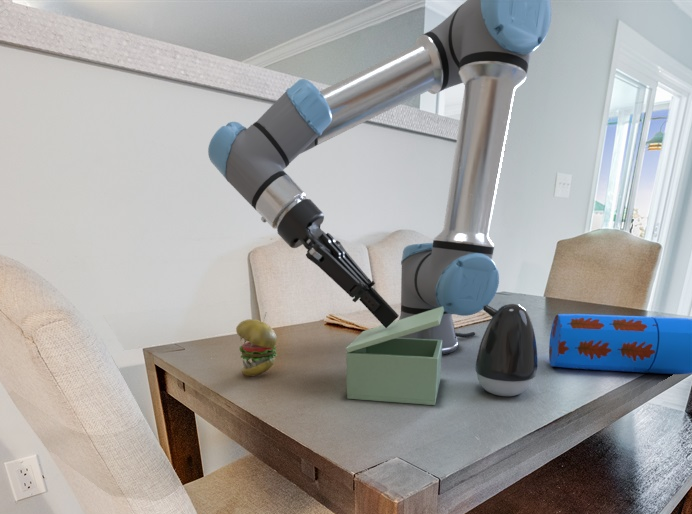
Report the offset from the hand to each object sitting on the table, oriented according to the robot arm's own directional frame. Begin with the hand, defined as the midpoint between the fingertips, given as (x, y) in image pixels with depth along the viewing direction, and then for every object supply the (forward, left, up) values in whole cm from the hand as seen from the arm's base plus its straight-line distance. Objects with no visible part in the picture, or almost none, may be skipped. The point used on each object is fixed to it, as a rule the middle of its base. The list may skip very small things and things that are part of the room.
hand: (392, 321), depth 77 cm
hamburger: (+16, -20, -12) cm, 29 cm away
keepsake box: (-1, +1, -12) cm, 12 cm away
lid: (-1, +1, -1) cm, 2 cm away
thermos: (-36, +6, -7) cm, 37 cm away
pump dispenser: (-16, +12, -12) cm, 23 cm away
